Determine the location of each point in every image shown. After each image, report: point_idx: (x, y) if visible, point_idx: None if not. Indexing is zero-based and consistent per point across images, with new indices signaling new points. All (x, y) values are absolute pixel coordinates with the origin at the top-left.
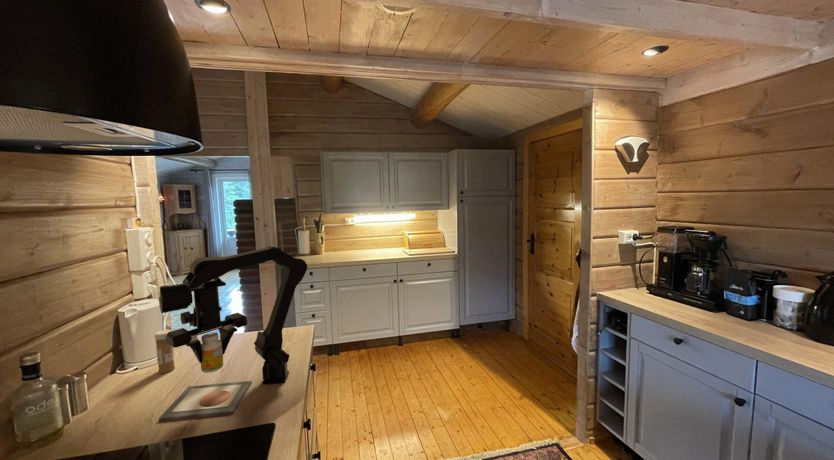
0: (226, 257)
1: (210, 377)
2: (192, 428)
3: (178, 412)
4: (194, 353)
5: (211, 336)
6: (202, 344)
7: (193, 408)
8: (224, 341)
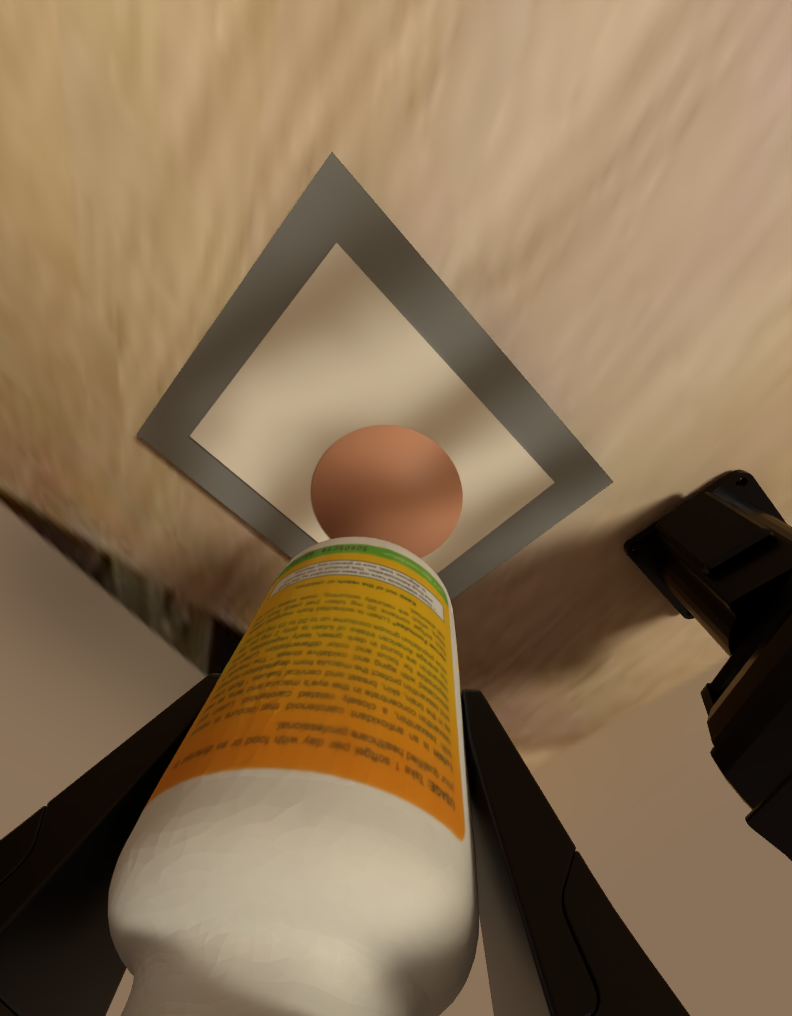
0: None
1: (523, 94)
2: (253, 593)
3: (219, 462)
4: (91, 780)
5: None
6: (133, 965)
7: (279, 496)
8: (497, 998)
